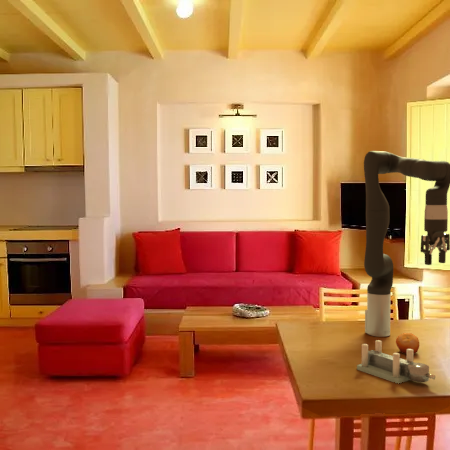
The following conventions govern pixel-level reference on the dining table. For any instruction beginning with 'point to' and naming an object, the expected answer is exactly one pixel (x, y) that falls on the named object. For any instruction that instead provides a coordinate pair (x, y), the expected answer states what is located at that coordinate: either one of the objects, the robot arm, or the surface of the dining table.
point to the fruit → (407, 342)
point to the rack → (380, 372)
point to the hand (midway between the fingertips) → (435, 263)
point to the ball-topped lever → (407, 368)
